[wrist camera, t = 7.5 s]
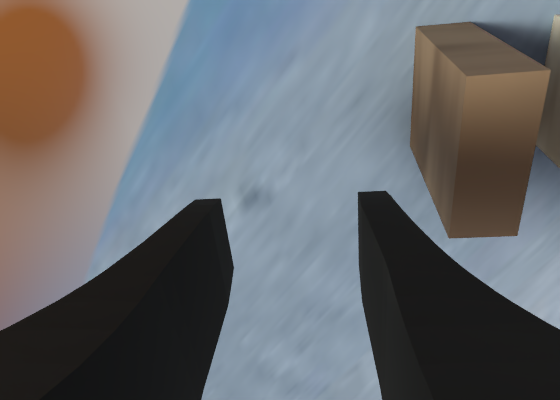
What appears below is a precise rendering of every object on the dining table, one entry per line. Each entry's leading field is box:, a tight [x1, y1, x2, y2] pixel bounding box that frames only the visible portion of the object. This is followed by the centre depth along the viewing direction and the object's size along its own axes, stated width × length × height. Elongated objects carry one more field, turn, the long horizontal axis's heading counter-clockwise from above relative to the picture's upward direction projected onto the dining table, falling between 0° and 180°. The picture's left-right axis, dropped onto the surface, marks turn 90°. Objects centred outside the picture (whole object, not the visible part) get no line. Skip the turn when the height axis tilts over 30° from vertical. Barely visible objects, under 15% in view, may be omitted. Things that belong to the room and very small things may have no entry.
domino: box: [410, 22, 551, 238], centre depth 15 cm, size 5×2×7 cm, turn 6°
